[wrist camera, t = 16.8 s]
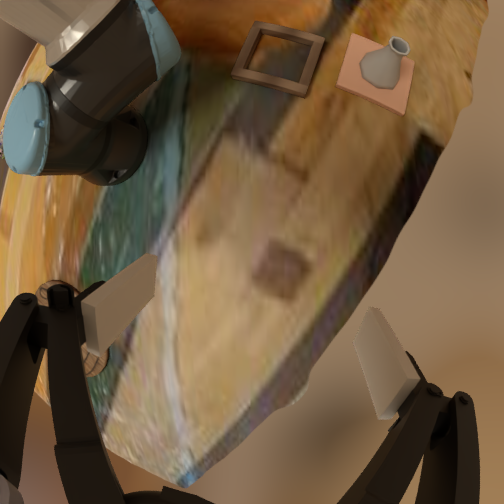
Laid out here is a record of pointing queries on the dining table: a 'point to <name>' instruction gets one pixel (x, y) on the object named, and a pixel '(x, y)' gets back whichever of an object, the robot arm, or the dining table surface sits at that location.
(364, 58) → the flask
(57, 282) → the trivet
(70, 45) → the robot arm
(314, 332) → the dining table surface
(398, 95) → the terracotta coaster
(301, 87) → the walnut holder
